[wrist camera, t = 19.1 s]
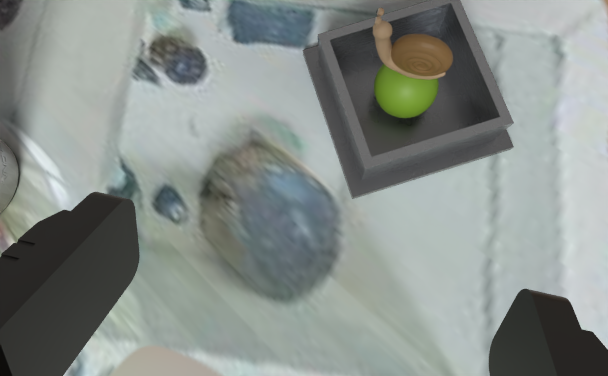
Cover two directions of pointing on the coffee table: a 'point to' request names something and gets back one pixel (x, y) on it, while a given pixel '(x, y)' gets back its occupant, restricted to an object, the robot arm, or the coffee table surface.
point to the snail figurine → (408, 70)
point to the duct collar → (416, 130)
